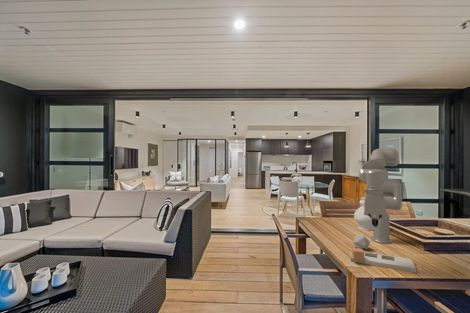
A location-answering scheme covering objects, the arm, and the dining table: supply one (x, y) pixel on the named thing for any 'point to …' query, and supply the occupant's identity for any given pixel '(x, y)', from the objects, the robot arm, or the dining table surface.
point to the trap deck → (387, 261)
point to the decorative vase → (363, 217)
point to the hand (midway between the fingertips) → (375, 226)
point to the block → (357, 254)
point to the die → (361, 242)
